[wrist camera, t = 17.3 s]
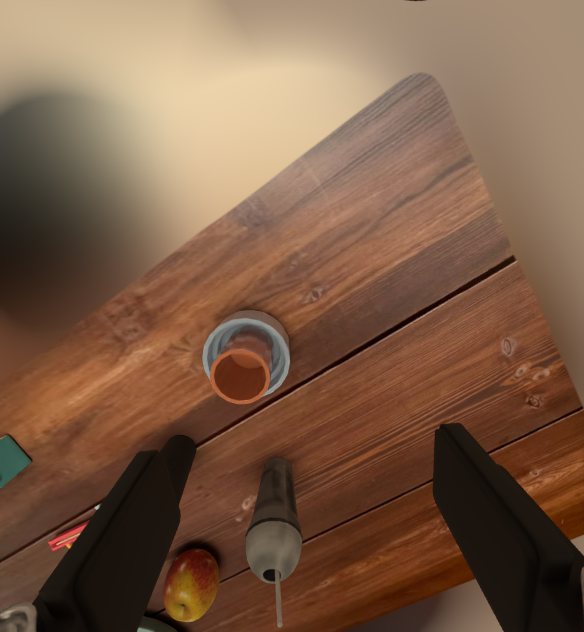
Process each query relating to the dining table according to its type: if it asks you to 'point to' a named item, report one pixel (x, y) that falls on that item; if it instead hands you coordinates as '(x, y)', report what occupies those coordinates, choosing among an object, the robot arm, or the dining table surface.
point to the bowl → (258, 320)
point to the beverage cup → (274, 528)
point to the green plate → (154, 626)
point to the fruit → (191, 585)
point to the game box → (11, 460)
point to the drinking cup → (179, 461)
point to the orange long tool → (68, 536)
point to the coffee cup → (244, 366)
